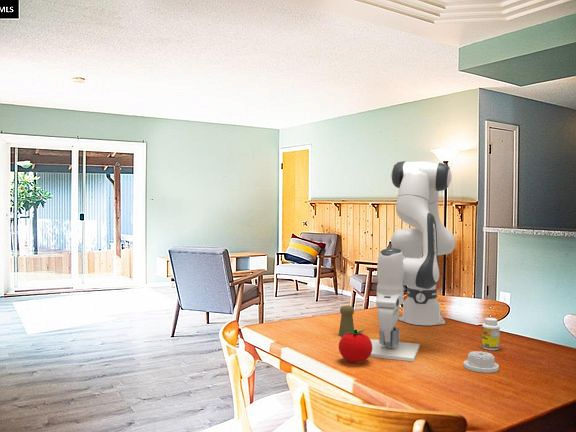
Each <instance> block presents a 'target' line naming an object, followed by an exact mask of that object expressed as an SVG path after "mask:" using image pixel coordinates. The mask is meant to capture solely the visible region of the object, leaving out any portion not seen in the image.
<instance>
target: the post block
mask: <svg viewBox="0 0 576 432" xmlns="http://www.w3.org/2000/svg"><path fill="white" fill-rule="evenodd" d="M392 330H393V328H392ZM392 330H391V331H392ZM369 339H370V340H371V342H372V352H371V355H370V356H369V358H377V359H388V360H397V361H405V362H414V361H415V360H416V357H417V354H418V351H419V349H420V343H413V342H405V341H399V345H398V346H385V345H384V346H383V345H381V344H380V339H372V338H369Z"/></svg>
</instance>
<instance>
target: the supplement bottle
mask: <svg viewBox="0 0 576 432" xmlns="http://www.w3.org/2000/svg"><path fill="white" fill-rule="evenodd" d="M500 330H501V328H500V325H499V324H498V319H497V318H494V317H486V318H484V323H482V328H481V334H482V335H481V347H482V349H484V350H486V351H497V350H499V349H500Z"/></svg>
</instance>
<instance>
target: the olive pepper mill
mask: <svg viewBox="0 0 576 432" xmlns="http://www.w3.org/2000/svg"><path fill="white" fill-rule="evenodd" d="M339 312H340V315H341V316H340V322H339V323H340V324H339V328H338V329H339V330H338V336H339V337H341V338H342V337H343V336H344V335H345V334H347V333H349V332H352V331H351V329H353V330H355V326H354V317H353V316H354V314H355V309H354V307H353V306H351V305H342V306H340V309H339ZM346 331H347V332H346Z"/></svg>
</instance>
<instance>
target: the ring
mask: <svg viewBox="0 0 576 432" xmlns="http://www.w3.org/2000/svg"><path fill="white" fill-rule="evenodd" d="M390 336H391V341H390V342H385V336H384V331H380V330H379V340H380V344H381V345H383V346H384V345H385V346H398V345H399V342H400V328H398V327H396V326H395V327H393V330H392V331H391V333H390Z"/></svg>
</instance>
